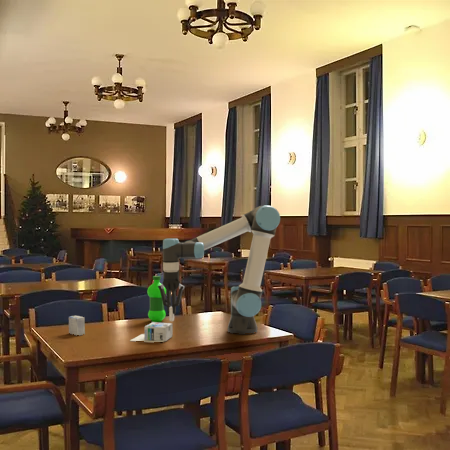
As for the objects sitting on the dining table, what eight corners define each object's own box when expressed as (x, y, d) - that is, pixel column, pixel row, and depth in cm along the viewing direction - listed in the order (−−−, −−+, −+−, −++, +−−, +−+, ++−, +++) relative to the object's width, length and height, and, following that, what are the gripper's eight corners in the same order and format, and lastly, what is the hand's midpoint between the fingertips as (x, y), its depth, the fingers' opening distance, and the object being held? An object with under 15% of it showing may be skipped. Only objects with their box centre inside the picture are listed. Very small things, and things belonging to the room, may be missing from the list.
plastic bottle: (165, 323, 314) (165, 277, 314) (146, 322, 314) (145, 277, 314) (167, 319, 324) (167, 275, 324) (148, 319, 325) (148, 275, 324)
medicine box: (85, 334, 285) (85, 317, 285) (77, 336, 282) (77, 318, 281) (76, 332, 290) (76, 315, 290) (68, 333, 287) (68, 316, 287)
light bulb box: (166, 327, 268) (144, 326, 270) (165, 341, 268) (143, 340, 270) (172, 323, 278) (151, 321, 281) (172, 336, 279) (151, 335, 281)
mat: (172, 336, 281) (172, 335, 281) (162, 342, 266) (162, 342, 266) (141, 334, 285) (141, 333, 285) (129, 341, 270) (129, 340, 270)
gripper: (186, 270, 275) (187, 319, 275) (161, 270, 278) (161, 318, 278) (181, 272, 267) (182, 322, 268) (155, 271, 270) (156, 321, 271)
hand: (171, 320), depth 273 cm, fingers closed
